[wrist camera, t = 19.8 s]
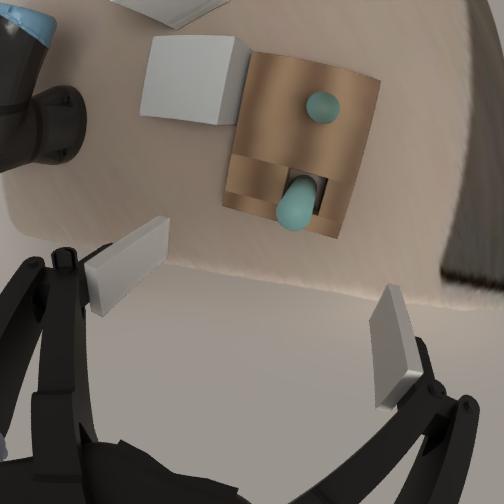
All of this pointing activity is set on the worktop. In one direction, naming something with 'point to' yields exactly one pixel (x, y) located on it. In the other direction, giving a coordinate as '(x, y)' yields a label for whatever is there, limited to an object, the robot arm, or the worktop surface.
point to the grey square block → (196, 78)
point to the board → (299, 136)
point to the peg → (297, 204)
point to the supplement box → (172, 9)
